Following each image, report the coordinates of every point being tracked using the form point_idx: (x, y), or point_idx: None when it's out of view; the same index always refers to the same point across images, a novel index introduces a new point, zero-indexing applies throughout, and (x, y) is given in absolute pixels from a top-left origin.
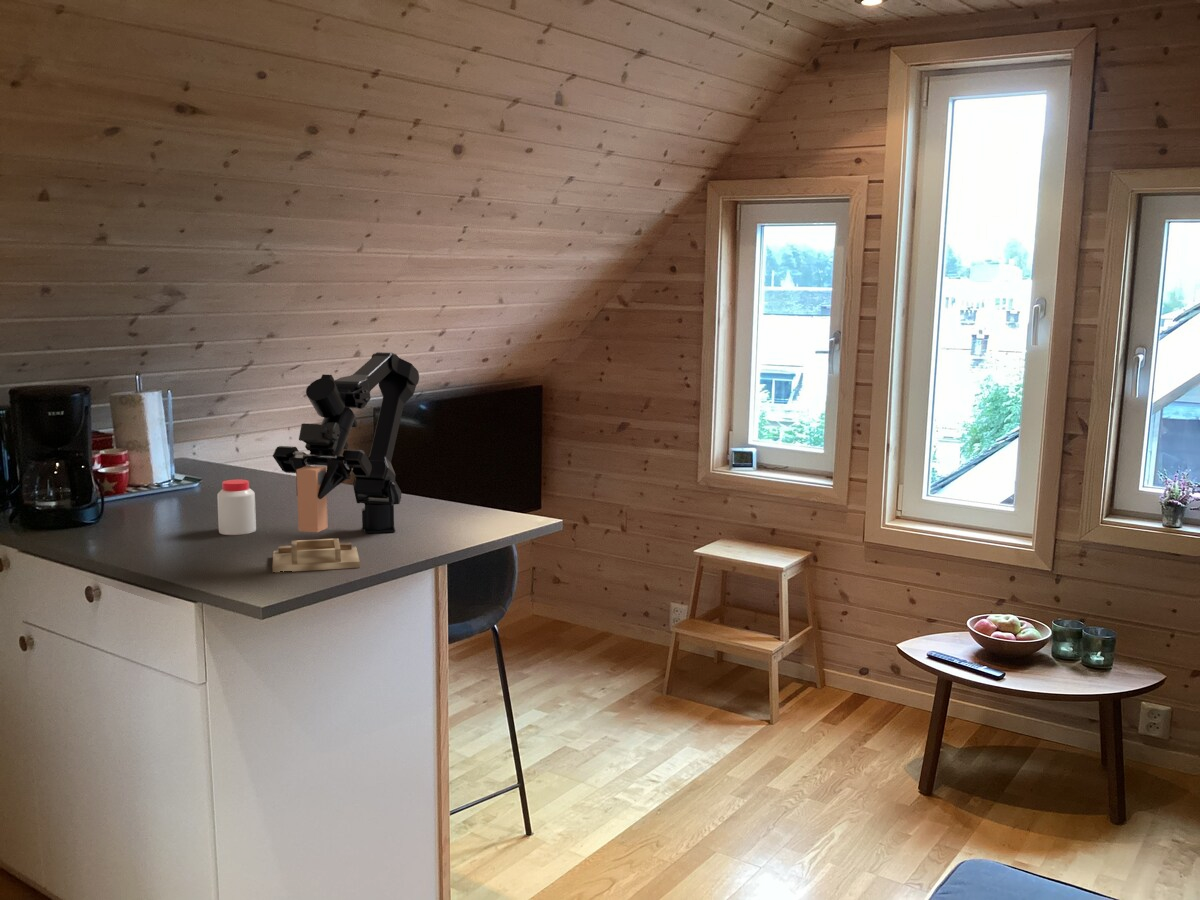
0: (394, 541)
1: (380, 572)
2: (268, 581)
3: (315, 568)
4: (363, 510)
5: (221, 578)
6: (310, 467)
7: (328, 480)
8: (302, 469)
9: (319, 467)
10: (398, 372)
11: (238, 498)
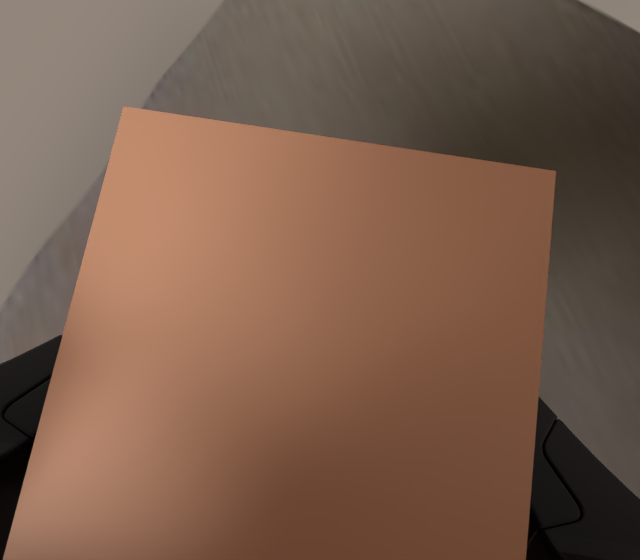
0: None
1: (30, 266)
2: (397, 111)
3: None
4: None
5: (575, 127)
6: (344, 444)
7: (53, 343)
8: (432, 188)
9: (133, 472)
10: None
11: None
